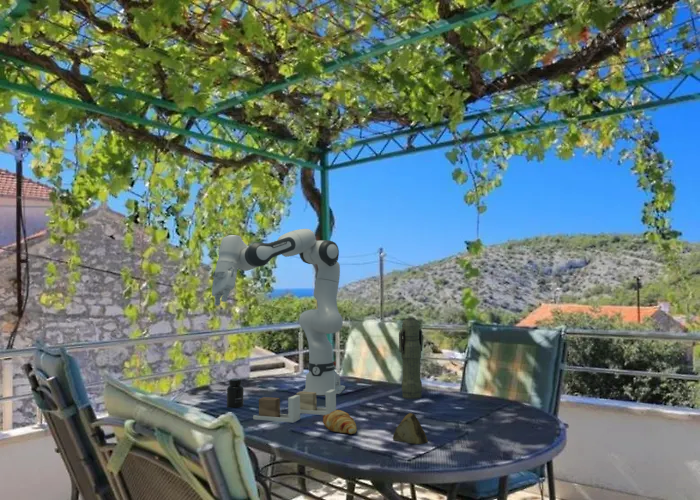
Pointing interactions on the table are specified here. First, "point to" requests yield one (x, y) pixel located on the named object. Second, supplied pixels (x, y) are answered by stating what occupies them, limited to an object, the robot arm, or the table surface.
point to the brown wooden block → (269, 407)
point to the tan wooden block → (307, 400)
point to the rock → (410, 431)
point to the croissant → (340, 422)
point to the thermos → (411, 358)
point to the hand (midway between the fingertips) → (220, 303)
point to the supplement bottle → (235, 394)
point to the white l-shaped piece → (330, 405)
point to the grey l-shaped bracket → (292, 412)
